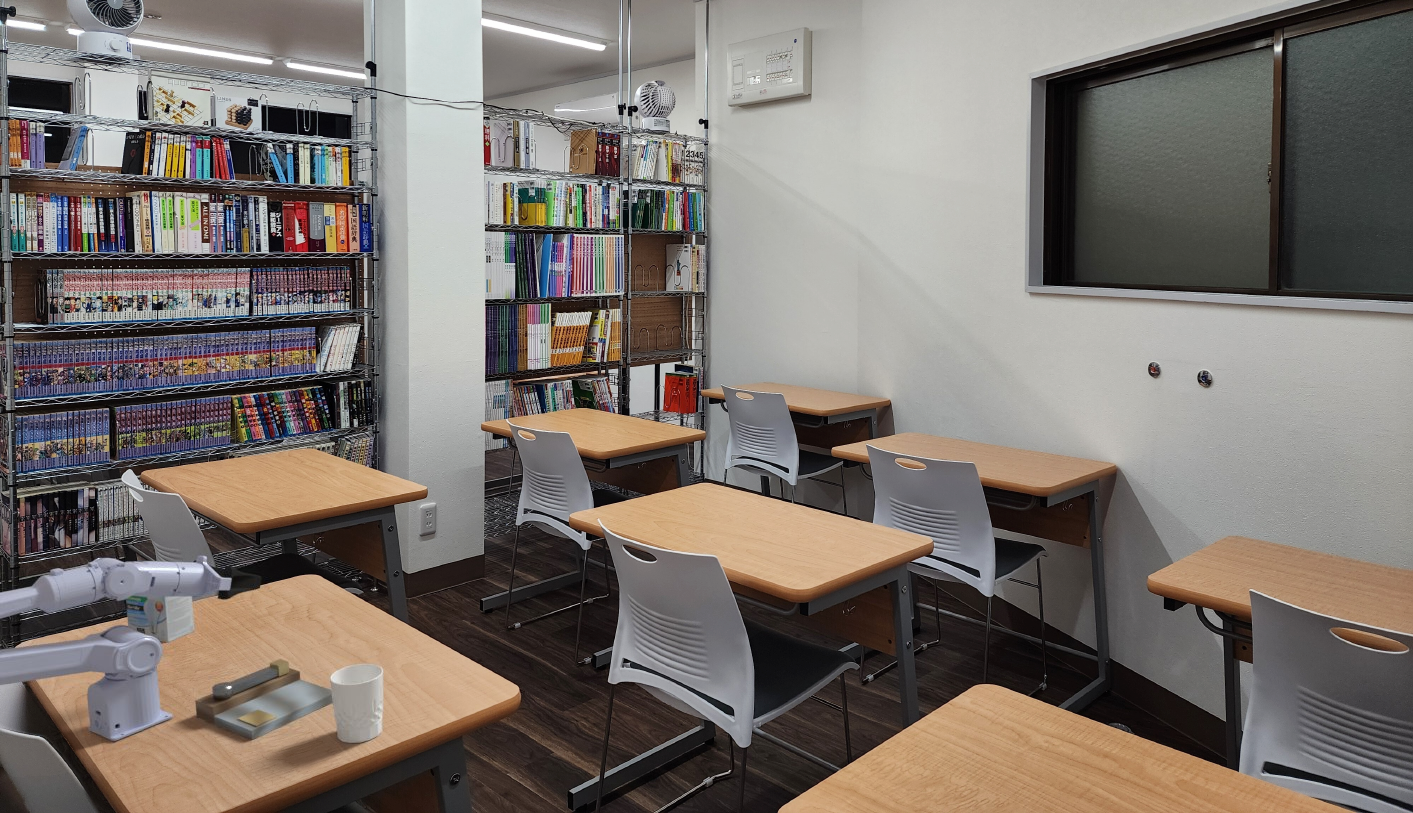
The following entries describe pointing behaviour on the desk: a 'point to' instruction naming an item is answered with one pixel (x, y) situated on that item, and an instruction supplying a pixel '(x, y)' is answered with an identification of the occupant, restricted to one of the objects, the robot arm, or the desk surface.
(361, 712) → the white cup
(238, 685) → the latch bar
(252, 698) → the door board
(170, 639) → the light bulb box
